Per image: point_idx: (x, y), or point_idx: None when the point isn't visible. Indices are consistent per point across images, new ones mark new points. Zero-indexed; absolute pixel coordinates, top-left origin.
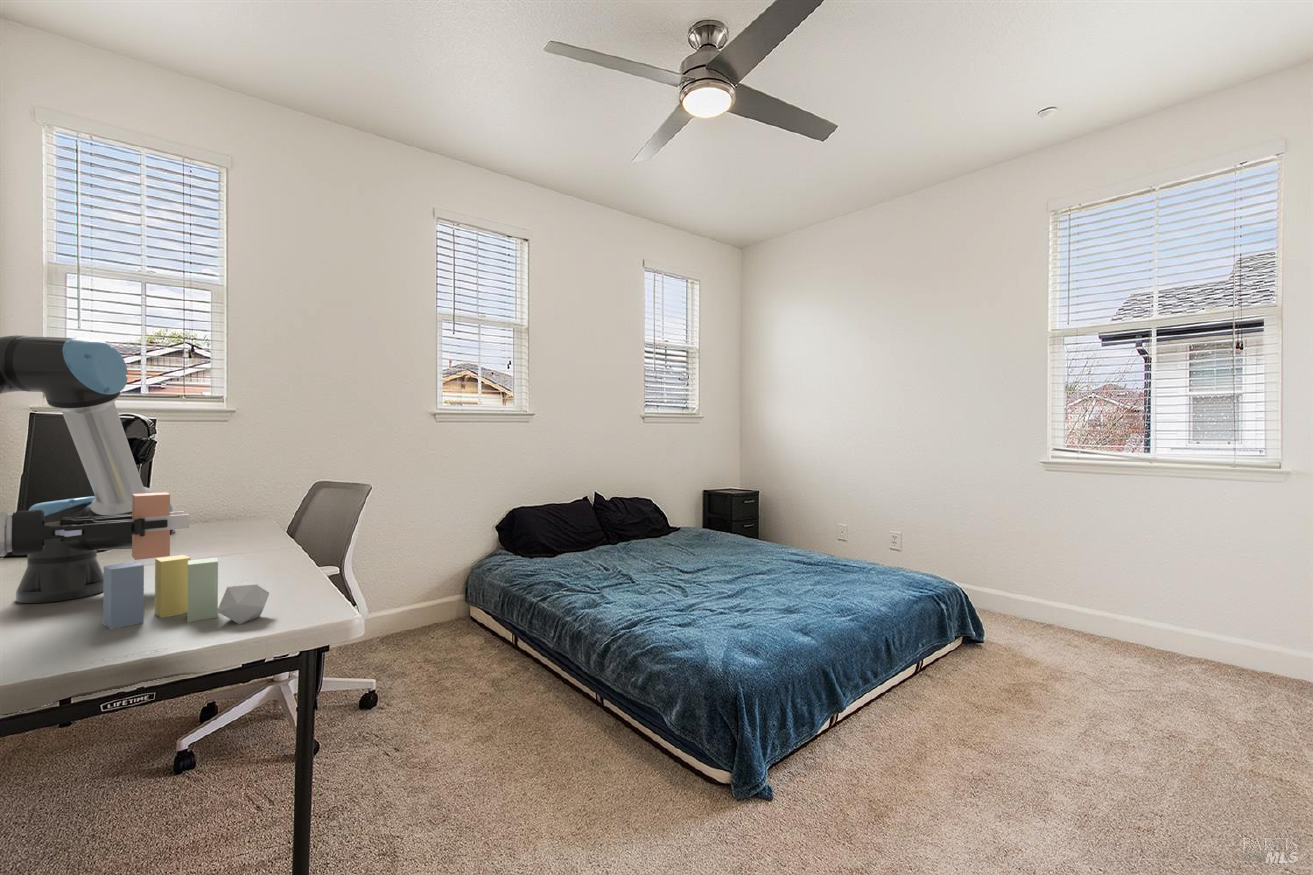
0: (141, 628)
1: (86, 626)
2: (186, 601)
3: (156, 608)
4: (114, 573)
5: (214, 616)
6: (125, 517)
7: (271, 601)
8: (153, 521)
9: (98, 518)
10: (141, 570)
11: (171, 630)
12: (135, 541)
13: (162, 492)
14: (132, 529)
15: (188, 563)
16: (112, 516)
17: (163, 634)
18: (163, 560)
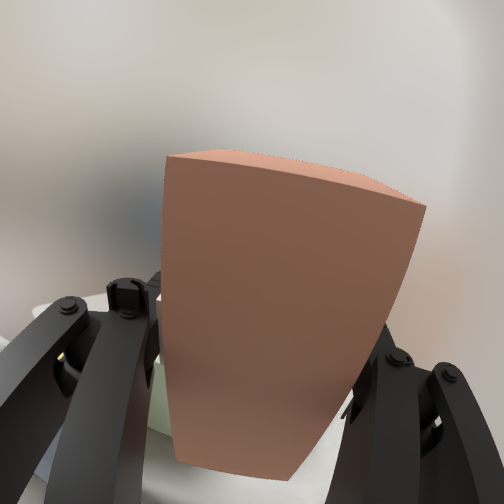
0: (143, 487)
1: (35, 497)
2: None
3: None
4: (46, 454)
5: None
6: (136, 364)
7: None
8: (390, 338)
9: (68, 497)
10: None
11: (211, 473)
12: (310, 448)
13: (220, 149)
14: (431, 421)
15: (156, 361)
16: (29, 374)
17: (226, 488)
18: (61, 357)
